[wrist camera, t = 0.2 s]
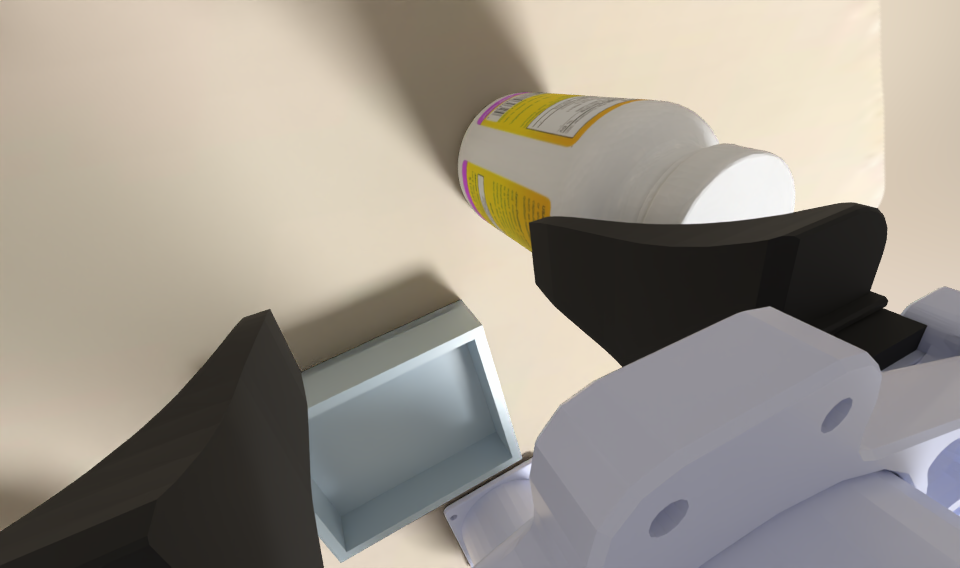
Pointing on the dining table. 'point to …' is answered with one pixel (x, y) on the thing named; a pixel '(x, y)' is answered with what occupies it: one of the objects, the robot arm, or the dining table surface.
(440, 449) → the bin
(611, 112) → the supplement bottle
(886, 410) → the robot arm
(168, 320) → the dining table surface
